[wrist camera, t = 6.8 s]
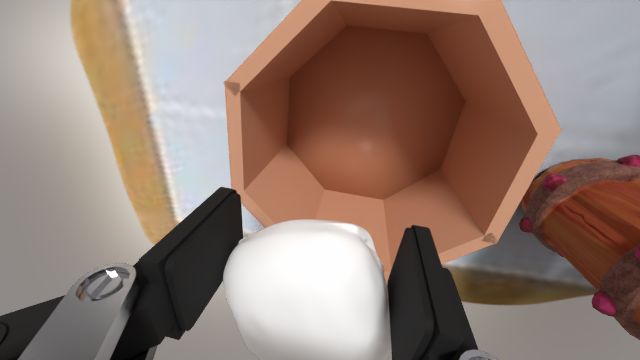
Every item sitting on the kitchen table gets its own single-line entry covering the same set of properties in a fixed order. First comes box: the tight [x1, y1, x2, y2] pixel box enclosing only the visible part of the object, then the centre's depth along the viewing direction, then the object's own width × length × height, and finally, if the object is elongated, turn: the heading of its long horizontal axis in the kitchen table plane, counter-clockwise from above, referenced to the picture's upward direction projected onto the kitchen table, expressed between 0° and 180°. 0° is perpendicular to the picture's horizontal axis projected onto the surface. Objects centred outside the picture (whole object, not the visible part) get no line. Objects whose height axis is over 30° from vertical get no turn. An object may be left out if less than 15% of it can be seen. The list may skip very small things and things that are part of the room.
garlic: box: [223, 219, 392, 360], centre depth 10 cm, size 8×7×4 cm
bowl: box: [224, 0, 562, 281], centre depth 18 cm, size 16×16×10 cm
